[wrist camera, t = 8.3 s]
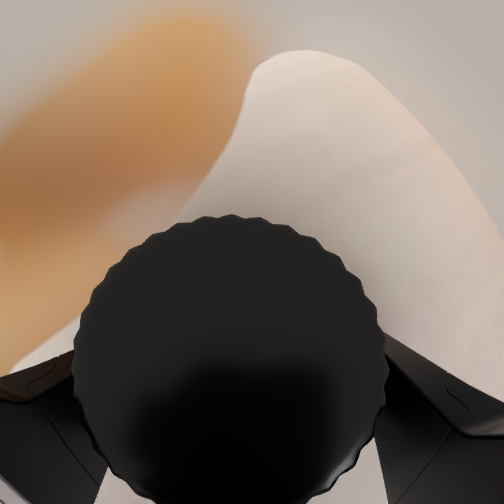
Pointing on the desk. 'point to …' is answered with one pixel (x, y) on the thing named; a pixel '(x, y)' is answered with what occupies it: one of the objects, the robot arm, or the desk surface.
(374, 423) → the supplement bottle
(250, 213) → the desk surface
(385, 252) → the desk surface
